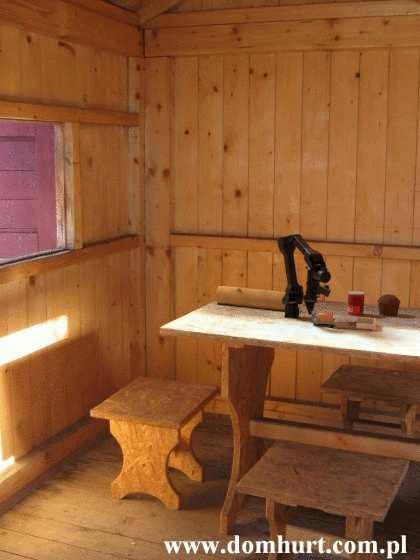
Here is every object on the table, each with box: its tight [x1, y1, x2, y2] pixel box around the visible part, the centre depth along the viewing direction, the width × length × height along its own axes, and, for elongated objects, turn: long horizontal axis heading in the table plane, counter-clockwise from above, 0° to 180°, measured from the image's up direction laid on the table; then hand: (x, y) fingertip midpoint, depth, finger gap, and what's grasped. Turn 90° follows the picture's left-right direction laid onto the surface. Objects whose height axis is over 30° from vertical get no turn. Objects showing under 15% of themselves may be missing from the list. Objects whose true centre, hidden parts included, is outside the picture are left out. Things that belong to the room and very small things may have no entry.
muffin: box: [377, 293, 401, 317], centre depth 398 cm, size 12×11×10 cm
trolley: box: [310, 308, 336, 327], centre depth 372 cm, size 10×11×6 cm
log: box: [215, 285, 285, 312], centre depth 412 cm, size 38×10×10 cm, turn 64°
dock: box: [328, 316, 377, 332], centre depth 369 cm, size 21×14×4 cm, turn 78°
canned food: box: [346, 290, 365, 317], centre depth 398 cm, size 8×8×11 cm
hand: (311, 312), depth 372 cm, fingers open, 9 cm apart
